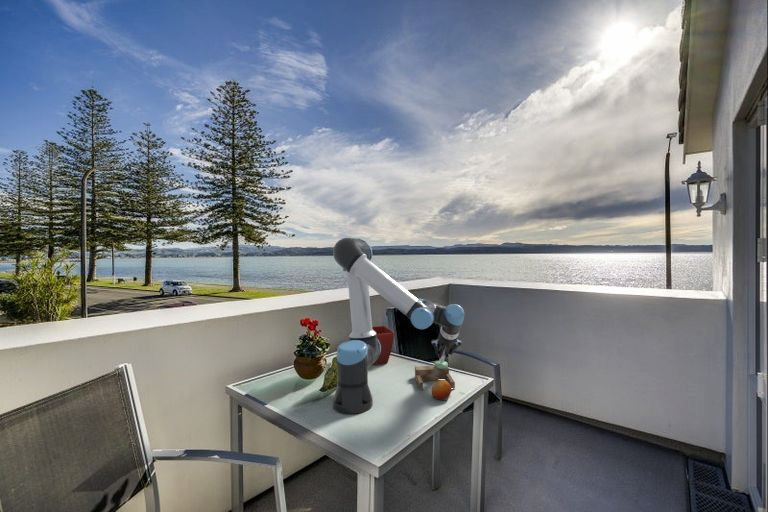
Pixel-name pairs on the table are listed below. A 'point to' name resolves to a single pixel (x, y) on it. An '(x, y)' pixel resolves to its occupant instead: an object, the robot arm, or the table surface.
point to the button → (441, 365)
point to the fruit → (441, 390)
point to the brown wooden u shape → (448, 378)
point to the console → (431, 372)
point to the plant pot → (384, 343)
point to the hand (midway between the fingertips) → (441, 360)
